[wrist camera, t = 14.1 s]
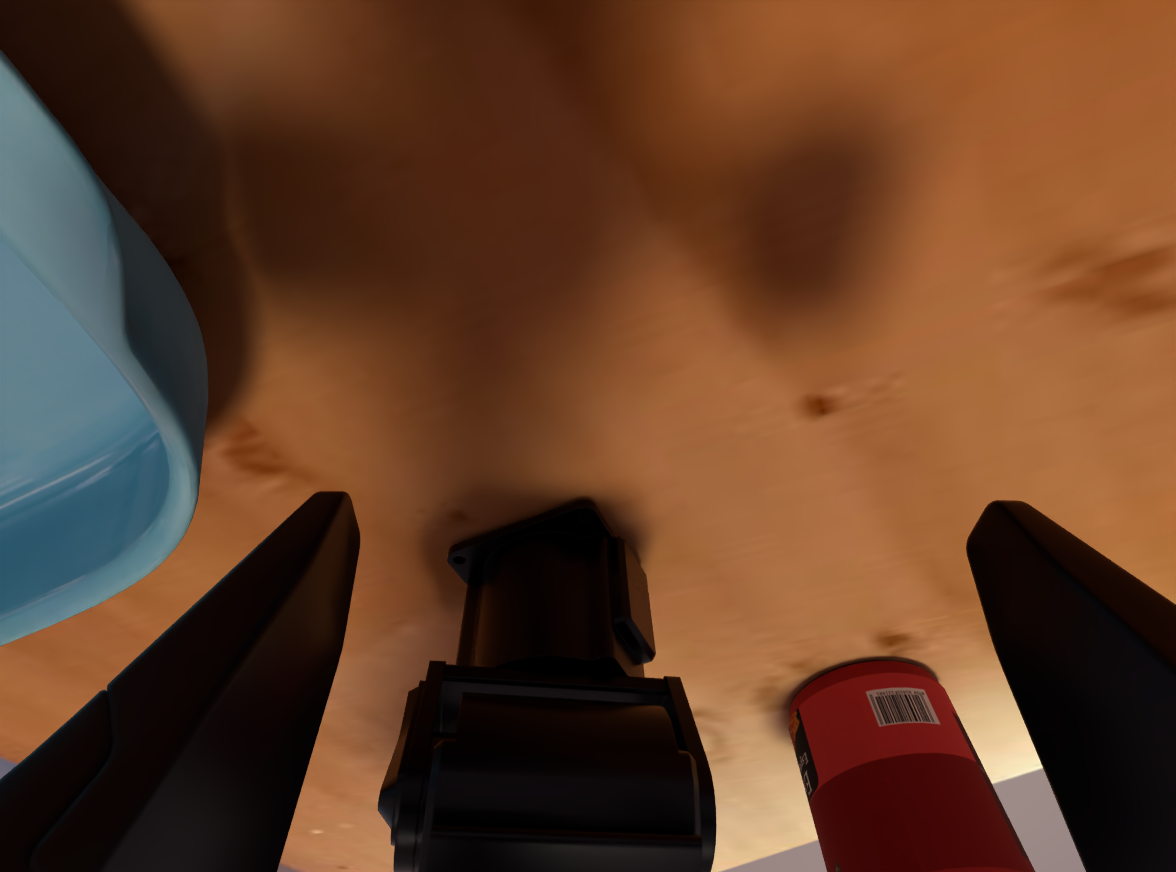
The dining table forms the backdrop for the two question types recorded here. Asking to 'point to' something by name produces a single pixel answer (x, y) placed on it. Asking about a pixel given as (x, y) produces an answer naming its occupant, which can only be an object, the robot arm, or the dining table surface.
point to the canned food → (897, 776)
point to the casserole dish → (85, 381)
